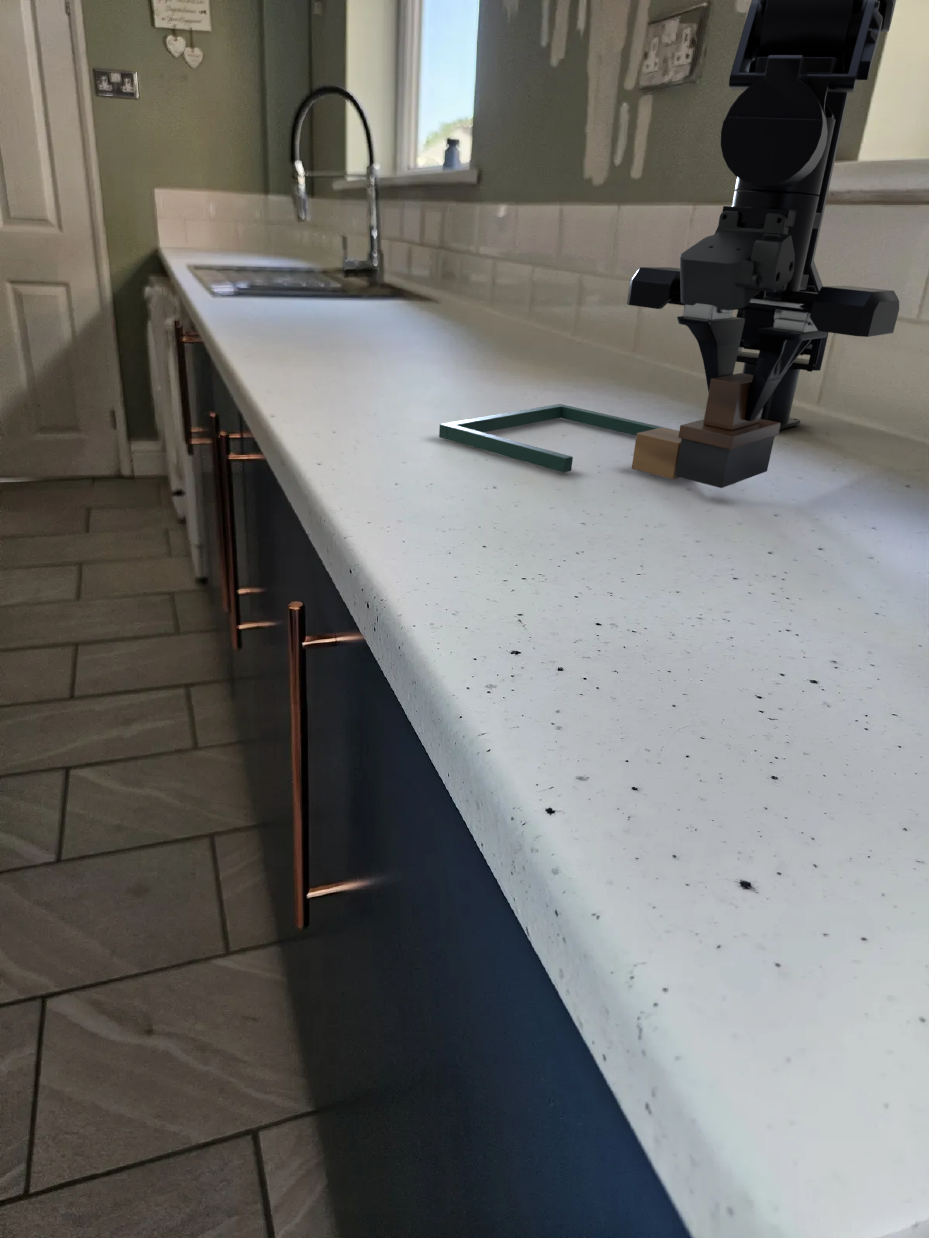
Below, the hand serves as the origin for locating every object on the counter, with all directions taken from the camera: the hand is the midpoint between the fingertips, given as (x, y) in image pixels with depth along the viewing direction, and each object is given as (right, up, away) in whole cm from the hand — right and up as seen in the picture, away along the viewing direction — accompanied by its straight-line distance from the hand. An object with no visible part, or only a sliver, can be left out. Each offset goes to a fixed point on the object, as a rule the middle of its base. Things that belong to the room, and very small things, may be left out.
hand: (732, 417), depth 68 cm
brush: (0, -4, +2) cm, 4 cm away
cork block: (-4, -3, +5) cm, 7 cm away
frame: (-12, +1, +12) cm, 17 cm away
